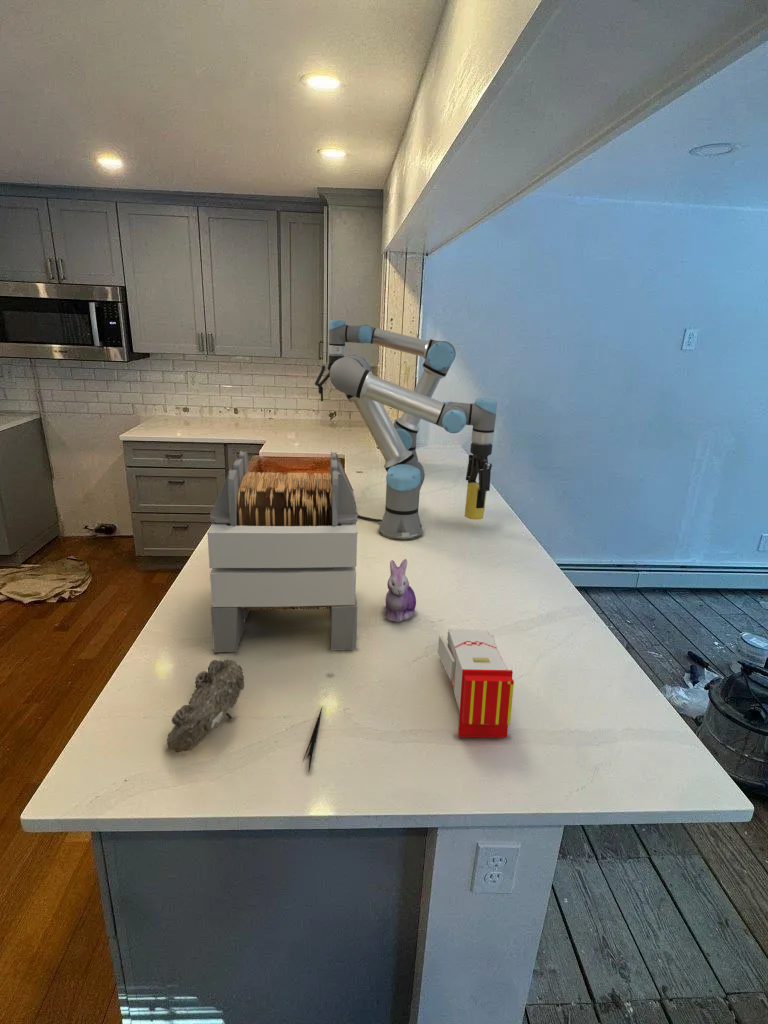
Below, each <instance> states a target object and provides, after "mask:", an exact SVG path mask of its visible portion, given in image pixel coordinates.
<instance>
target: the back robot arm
mask: <svg viewBox="0 0 768 1024" xmlns="http://www.w3.org/2000/svg"><path fill="white" fill-rule="evenodd" d="M328 323H329V324H328V365H324V364H322V365H321V370H320V372H319V374H318V376H317V378H316V380H315V382H314V386H316V387H318V394H319V395H320V402H323V401H324V386H323V385H325V383H326V382H327V381H328V380H329V379H330V369H331V366H332V365H333V363H334V362H335V361H336V360H338V359H340V358H343V357H345V356H346V343H351V344H352V343H354V344H363V345H364V344H371V345H374V346H375V345H376V346H378V347H379V346H380V347H384V348H387V349H391V350H395V351H399V352H403V353H406V354H410V355H415V356H419V357H422V358H423V359H424V361H423V364H422V369H423V371H422V373H421V375H420V376H419V379H418V381H417V384H416V386H415V388H414V390H413V391H415V392H417V393H420V394H422V395H425V396H427V397H430V398H432V397H433V396H434V393H435V391H436V389H437V387H438V386H439V383H440V382H441V379H443V378H446V376H447V374H448V372H449V370H450V369H451V367H452V365H453V363H454V361H455V360H456V356H457V355H456V349H455V347H454V345H453V344H452V343H451V342H449V341H446V340H435V339H432V338H429V339H428V340H426V339H421V338H418V337H414V336H410V335H407V334H402V333H398V332H394V331H390V330H385V329H382V328H378V327H374V326H371V325H368V324H362V325H352V324H351V325H349V324H346V323H347V322H346V321H345V320H342V319H331V320H329V322H328ZM327 370H328V373H327V374H326V375H325V377H323V376H324V373H325V371H327ZM322 377H323V379H322ZM348 401H349V402H350V403H351V402H352V401H350V400H348ZM421 420H422V419H420V418H418V417H415V416H412V415H410V414H407V413H405V412H402V415H401V416H400V417H398V418H396V419H394V420H393V425H394V427H395V429H396V431H397V433H398V435H399V437H400V439H401V440H402V442H403V444H404V446H405V448H406V450H408V451H411V452H412V453H413V454H414V456H415V458H416V460H417V461H419V458H418V455H417V436H418V433H419V431H420V428H419V423H420V422H421Z"/></svg>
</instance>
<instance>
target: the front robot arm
mask: <svg viewBox="0 0 768 1024" xmlns="http://www.w3.org/2000/svg"><path fill="white" fill-rule="evenodd" d="M344 356H345V357H343V358H340V359H338V360H336V361H335V362H334V363H333V365H332V366H331V369H330V371H329V372H330V377H329V380H330V383H331V385H332V386H333V387H334V388H335V389H336V390H337V391H339V392H341V393H343V394H344V395H345V397H346V398H347V400H348V401H349V400H350V401H351V402H353V403H354V405H355V406H356V408H357V410H358V412H359V414H360V416H361V417H362V419H363V421H364V423H365V425H366V427H367V429H368V430H369V432H370V434H371V436H372V438H373V440H374V442H375V444H376V447H378V449H379V451H380V453H381V456H382V457H383V459H384V460H385V461H384V466H383V468H384V469H385V471H386V476H385V483H386V485H385V504H384V505H385V507H384V508H385V509H384V513H383V515H382V519H381V518H374V517H369V516H364V515H359V514H358V519H362V520H366V521H372V522H378V523H379V526H378V533H379V534H380V535H381V536H382V537H385V538H387V539H389V540H395V541H410V540H415V539H418V538H420V537H421V536H422V535H423V525H422V524H421V518H420V515H419V507H420V506H419V505H420V504H419V503H420V494H421V493H420V492H421V489H422V486H423V484H424V481H425V478H426V477H425V476H426V473H425V468H424V467H423V464H422V463H421V462H420V461H419V460H418V461H417V460H416V458H415V456H414V454H413V453H412V452H411V451H408V450H406V448H405V446H404V444H403V442H402V440H401V439H400V437H399V435H398V433H397V431H396V429H395V427H394V422H393V421H392V419H391V418H390V416H389V414H388V412H387V410H386V408H385V406H387V407H389V408H391V409H394V410H397V411H400V412H402V413H404V412H405V413H407V414H410V415H412V416H415V417H418V418H420V419H421V420H423V421H425V422H428V423H430V424H433V425H436V426H438V427H440V428H443V429H444V430H445V431H446V432H447V433H449V434H457V433H460V432H461V431H463V429H464V428H465V427H466V426H472V430H471V441H470V453H471V454H468V463H467V468H466V475H465V480H466V481H467V484H468V483H473V482H475V483H479V490H478V495H477V504H476V508H484V501H485V502H486V500H485V493H486V494H487V492H489V491H490V490H491V475H492V468H493V464H492V463H490V462H489V458H488V457H489V456H491V455H492V454H493V445H494V444H493V443H494V436H495V426H496V421H497V412H498V411H497V410H498V401H497V400H496V399H494V398H490V397H477V398H476V399H475V401H474V402H472V403H468V402H457V401H451V400H450V401H440V400H439V399H438V400H437V399H435V398H432V397H431V398H430V397H427V396H425V395H422V394H420V393H417V392H415V391H414V390H413V389H412V390H411V389H410V388H406V387H404V386H401V385H399V384H397V383H394V382H391V381H389V380H386V379H384V378H381V377H379V376H377V375H374V374H373V371H372V367H371V364H370V362H369V361H368V360H367V359H366V358H365V357H363V356H361V355H358V354H348V355H344ZM350 401H349V402H350ZM477 478H478V482H477Z"/></svg>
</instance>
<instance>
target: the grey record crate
mask: <svg viewBox="0 0 768 1024" xmlns="http://www.w3.org/2000/svg"><path fill="white" fill-rule="evenodd" d="M329 465H330V466H329V467H330V469H329V470H330V472H324V473H321V472H313V474H309V473H308V472H286V473H285V472H284V473H283V472H274V471H273V472H269V471H266V472H264V471H263V472H260V471H259V472H258V471H257V472H255V471H249V459H248V451H242V450H240V451H239V453H238V455H237V457H236V458H235V460H234V463H233V465H232V467H231V468H230V469H229V471H228V473H227V475H226V477H225V480H224V482H223V484H222V487H221V489H220V491H219V493H218V496H217V498H216V500H215V502H214V504H213V507H212V508H211V511H210V514H209V519H210V523H211V525H210V527H209V529H208V531H207V532H206V534H207V548H208V562H209V563H208V565H209V569H211V570H210V573H209V575H210V576H209V577H210V590H211V591H210V592H211V593H210V594H211V606H210V617H211V633H212V637H213V638H212V639H213V649H212V652H213V653H214V654H215V653H216V654H220V653H236V652H237V649H238V647H239V645H240V642H241V639H242V637H243V635H244V632H245V625H246V624H245V621H247V619H248V615H249V611H268V610H270V611H273V610H274V611H275V610H277V611H278V610H279V611H280V610H284V611H286V610H290V611H291V610H294V611H295V610H325V609H326V610H329V619H330V621H329V622H330V623H329V625H330V626H329V627H330V628H329V629H330V650H331V651H351V652H353V651H354V650H355V649H357V638H358V635H357V631H358V602H357V601H358V600H357V593H356V590H357V589H356V588H357V569H356V568H357V555H358V553H357V551H358V529H357V522H358V519H359V518H358V515H359V513H358V507H357V502H356V497H355V493H354V488H353V486H352V484H351V481H350V479H349V478H348V475H347V473H346V471H345V469H344V466H343V464H342V461H341V460H340V458H339V456H338V453H337V452H333V451H330V463H329Z"/></svg>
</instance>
